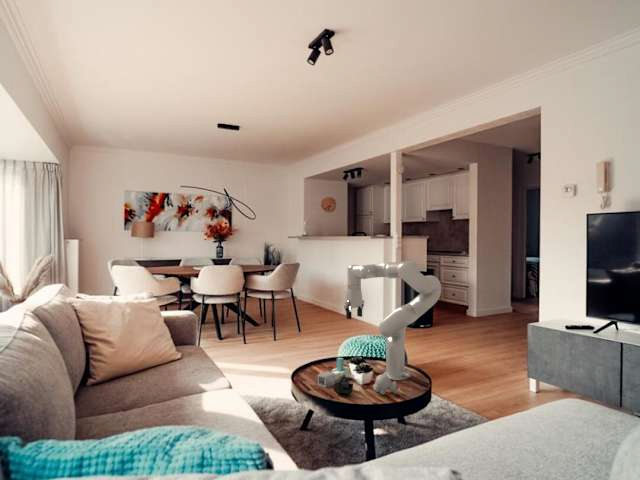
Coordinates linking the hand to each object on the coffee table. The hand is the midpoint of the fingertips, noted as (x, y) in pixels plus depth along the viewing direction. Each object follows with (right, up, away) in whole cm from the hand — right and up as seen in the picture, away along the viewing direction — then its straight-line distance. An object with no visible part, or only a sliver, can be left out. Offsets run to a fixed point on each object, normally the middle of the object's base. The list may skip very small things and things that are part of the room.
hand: (354, 317), depth 218 cm
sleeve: (-16, -28, -25) cm, 41 cm away
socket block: (-9, -28, -17) cm, 34 cm away
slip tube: (-12, -27, -20) cm, 36 cm away
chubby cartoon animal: (+12, -28, -37) cm, 48 cm away
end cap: (-8, -29, -35) cm, 46 cm away
